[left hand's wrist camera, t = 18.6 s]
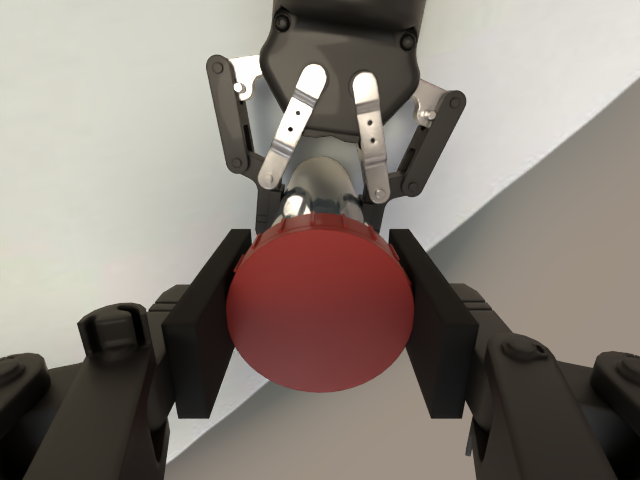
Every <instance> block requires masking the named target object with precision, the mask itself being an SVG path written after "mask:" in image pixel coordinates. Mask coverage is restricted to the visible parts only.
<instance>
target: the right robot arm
mask: <svg viewBox="0 0 640 480" xmlns="http://www.w3.org/2000/svg"><path fill="white" fill-rule="evenodd" d="M425 3H426V0H273V14H272V25H271V30H270V33H269V36H268V38H267V40H266V42H265V44H264V45H263V47H262V48H261V51H260V54H259V55H254V56H247V57H240V58H232V59H227V58H225V57H223V56H221V55H213V56H211V57H210V58H209V59H208V61H207V64H206V70H207V74H208V79H209V84H210V89H211V93H212V98H213V103H214V108H215V112H216V117H217V122H218V127H219V131H220V136H221V141H222V146H223V150H224V155H225V160H226V165H227V167H228V169H229V170H230V171H231V172H233V173H235V174H242V175H244V176H246V177H248V178H250V179H251V180H253V181H254V182H255V184H256V185H257V188H258V199H257V214H256V227H255V230H256V233H257V235H258V234H259V233H261V234H263V233H264V232H265V231H266V230H268V229H269V228H270V226H271V223H272V221H273V219H274V216H275V214H276V212H277V209H278V207H279V205H280V202H281V200H282V198H283V195H284V189H285V185H284V184H282V176H283V174H284V172H285V170H286V167H287V165H288V163H289V161H290V159H291V157H292V155H293V153H294V151H295V149H296V146H297V144H298V142H299V140H300V138H301V136H302V134H303V136H307V137H314V138H319V137H326V136H333V137H335V138H338V139H340V140H342V141H345V142H351V143H356V144H357V150H358V155H359V159H360V164H361V170H362V176H363V182H364V190H363V195H359V197H358V199H359V202H360V204H361V206H362V209H363V211H364V213H365V216H366V218H367V220H368V223H369V225H371V226H372V227H373V230H374V231H375V232H376V233H377V234H379V232H380V227H381V223H382V218H383V213H384V208H385V206H386V204H387V203H388V202H389V201H390V200H391V199H394V198H397V197H402V196H408V197H416V196H418V195H419V194H420V193H421V192H422V190H423V188H424V186H425V184H426V182H427V180H428V178H429V176H430V174H431V173H432V171H433V169H434V167H435V165H436V163H437V161H438V159H439V157H440V155H441V153H442V151H443V149H444V147H445V145H446V143H447V141H448V139H449V137H450V135H451V133H452V131H453V129H454V127H455V126H456V124H457V122H458V120H459V118H460V116H461V114H462V112H463V110H464V108H465V106H466V97H465V95H464V94H463V93H462V92H461V91H457V90H455V91H446V90H444V89H442V88H439V87H437V86H435V85H433V84H431V83H429V82H426V81H424V80H422V79H420V71H419V67H418V64H417V58H416V48H417V42H418V37H419V32H420V27H421V22H422V17H423V13H424V8H425ZM261 76H264V78H265V80H266V82H267V84H268V85H269V87H270V89H271V91H272V93H273V95H274V96H275V98H276V100H277V102H278V104H279V106H280V108H281V109H282V111H283V113H284V116H283V118H282V121H281V123H280V125H279V127H278V130H277V132H276V134H275V136H274V139H273V141H272V144H271V147H270V149H269V152H268V154H267V156H266V158H264V157H262V156H260V155H258V154H256V153H255V152H254V146H253V140H252V135H251V129H250V124H249V118H248V113H247V107H246V102H245V101H247V100H250V99H251V98H252V97H253V96H254V93H255V83H256V81H257V79H258V78H260V77H261ZM409 98H412V100H413V101H414V104H415V109H414V112H413V119H414V121H415V123H416V124H418V127H417V129H416V132H415V134H414V136H413V138H412V140H411V142H410V144H409V146H408V148H407V151H406V153H405V155H404V157H403V159H402V161H401V163H400V165H399V167H398V169H397V172H394V173H389V174H388V172H387V165H386V160H387V155H386V148H385V141H384V133H383V125H384V124H385V123H386V122H387V121H388V120H389V119H390V118H391V117H392V116H393V115H394V114H395V113H396V112H397V111H398V110H399V109H400V108H401V107H402V106H403V105H404V104H405V103H406V102H407V101H408V100H409Z"/></svg>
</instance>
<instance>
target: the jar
mask: <svg viewBox="0 0 640 480" xmlns="http://www.w3.org/2000/svg"><path fill="white" fill-rule="evenodd" d="M311 211H315V213H328V214H336V215H341V214H342V213H343V214H345V216H346V217H348V218H351V219H354V220H357V221H359V222H361V223H363V224H365V225H366V226H369V223H368V220H367V218H366V216H365V213H364V211H363V209H362V206H361V204H360V202H359V199H358V197H357V195H356V192H355V190H354V188H353V185H352V183H351V181H350V178H349V176H348V174H347V172H346V170H345V169H344V168H343V166H342V165H341V164H339V163H338V162H337V161H335V160H333V159H331V158H328V157H313V158H309V159H307V160H305V161H303V162H302V163H301V164H300V165H299V166H297V168H296V169H295V170H294V172H293V174H292V176H291V179H290V181H289V183H288V186H287V188H286V190H285V193H284V195H283V198H282V200H281V202H280V205H279V207H278V209H277V212H276V214H275V216H274V219H273V221H272V223H271V226H270V228H271V227H272V226H274V225H276V224H277V223H280V222H281V220H282V218H285V219H289V218H292V217H295V216H299V215H304V214H311Z"/></svg>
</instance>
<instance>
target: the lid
mask: <svg viewBox="0 0 640 480" xmlns="http://www.w3.org/2000/svg"><path fill="white" fill-rule="evenodd" d="M398 260H400V259H399V257H398V255H397V254H396V252H395V250H394V248H393V246H392V245H391V244H389V245H388V244H387V243H386V241H385V240H384V239H383V238H382V237H381V236H380V235H379V234H377V233H376V232H375V231H374V230H373V227H372V226H371V225H369V226H366V225H365V224H363V223H361V222H359V221H357V220H354V219H351V218H348V217H346V216H345V214H343V213H342V214H341V215H336V214H328V213H315V211H311V214H304V215H299V216H295V217H292V218H289V219H285V218H282V220H281V222H280V223H277V224H276V225H274V226H272V227H271V228H269V229H268V230H266V231H265V232H264V233H263V234H261V233H259V234H258V235H257V237H256V239H255V241H254V243H253V244H252V245H251V247H250V248H249V250H248V251H247V253H246V254H245V255H243V254H242V256H241V258H240V260H239V262H238V264H237V266H236V268H235V269H234V272H236V274H235V276H234V278H233V280H232V282H231V284H230V287H229V291H228V294H227V299H226V316H227V325H228V331H229V334H230V337H231V339H232V341H233V343H234V345H235V347H236V349H237V350H238V352H239V353H240V355H241V356H242V358H243V359H244V360H245V361H246V362H247V363H248V364H249V365H250V366H251V367H252V368H253V369H254V370H256V371H257V372H258V373H259V374H261V375H262V376H264V377H265V378H267V379H269V380H271V381H273V382H275V383H277V384H279V385H282V386H284V387H287V388H291V389H295V390H299V391H305V392H317V393H322V392H335V391H341V390H346V389H349V388H353V387H356V386H358V385H361V384H364V383H366V382H368V381H369V380H372V379H373V378H375V377H376V376H378V375H379V374H381V373H382V372H383V371H385V370H386V369H387V368H388V367H389V366H391V365H392V363H393V362H394V361H395V360H396V359H397V358H398V357H399V355H400V354H401V352H402V351H403V350H404V348H405V346H406V344H407V342H408V340H409V338H410V335H411V332H412V327H413V319H414V309H415V304H414V297H413V293H412V289H411V286H412V284H411V281H410V279H409V278H408V276H407V274H406V272H405V270H404V268H403V267H401V265H400V263H399V261H398Z"/></svg>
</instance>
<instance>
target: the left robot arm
mask: <svg viewBox="0 0 640 480" xmlns="http://www.w3.org/2000/svg"><path fill="white" fill-rule="evenodd" d="M389 244H391V245H392V246H393V248H394V250H395V252H396V254H397V255H398V257H399V259H400V260H398V261H399V263H400V265H401V267H403V268H404V270H405V272H406V274H407V276H408V278H409V279H410V281H411V284H412V286H411V289H412V293H413V297H414V304H415V309H414V319H413V327H412V332H411V335H410V338H409V340H408V342H407V344H406V346H405V347H406V350H407V353H408V355H409V358H410V361H411V363H412V366H413V369H414V372H415V375H416V377H417V380H418V383H419V386H420V389H421V391H422V394H423V397H424V400H425V403H426V405H427V408H428V411H429V414H430V416H431V418H432V419H450V418H451V419H461V418H462V415H463V410H464V404H465V400H466V402H467V404H468V406H469V408H470V410H471V412H472V414H473V417H472V422H471V427H470V432H469V437H468V442H467V447H466V454H465V455H466V456H471V451H472V450H473V457H474V464H475V472H476V479H477V480H640V356H637V355H635V356H634V355H633V354H629V353H622V352H614V351H611V352H603V353H601V354H600V355H598V356H597V358H596V361H595V364H594V367H593V368H590V367H585V366H580V365H575V364H570V363H565V362H561V361H557V360H556V359H555V357H554V355H553V354H552V353H551V352H550V350H549V349H548V348H547V347H545V346H544V345H542V344H541V343H540V342H538V341H536V340H534V339H531V338H529V337H527V336H524V335H520V334H515V333H513V332H512V331H511V330H510V329H509V328H508V327H507V325H506V324H505V323H504V322H503V321H502V320H501V319H500V317H499V316H498V315H497V314H496V313H495V312H494V311H493V310H492V308H491V307H490V306H489V305H488V303H485V300H484V299H483V298H482V296H481V295H480V294H479V293H478V292H477V291H476V290H474V289H472V288H471V287H469V286H467V285H465V284H449V283H448V282H447V280H446V279H445V277H444V276H443V275H442V273H441V272H440V271H439V269H438V268H437V267H436V265H435V264H434V263H433V261H432V260H431V259H430V257H429V256H428V255H427V253H426V252H425V250H424V249H423V248H422V246H421V245H420V244H419V242H418V241H417V240H416V238H415V237H414V236H413V234H412V233H411V232H410V230H409V229H390V230H389V243H388V245H389ZM251 245H252V240H251V229H231V231H230V232H229V233H228V235H227V236H226V237H225V239H224V240H223V241H222V243H221V244H220V245H219V247H218V248H217V249H216V251H215V252H214V253H213V255H212V256H211V258H210V259H209V260H208V262H207V263H206V264H205V266H204V267H203V268H202V270H201V271H200V272H199V274H198V275H197V276H196V278H195V279H194V281H193V282H192V283H191V285H175V286H174V287H172V288H170V289H169V290H167V291H165V292H164V293H163V294H162V295H161V296H160V297H159V298H158V299H157V301H156V302H155V304H153V305H152V306H151V308H150V309H149V311H148V312H146V308H144V307H143V306H142V305H140V304H135V303H118V304H113V305H109V306H105V307H103V308H100V309H97V310H94V311H93V312H91V313H89V314H88V315H86V316H84V317H83V318H82V319H81V320H80V321H79V322H78V323H77V325H78V329H79V332H80V336H81V339H82V343H83V346H84V350H85V353H86V358H85V359H84V361H83V362H82V363H78V364H73V365H68V366H63V367H58V368H53V369H47V366H46V363H45V360H44V358H43V357H42V356H40V355H39V354H34V353H23V354H15V355H10V356H7V357H3V358H0V480H164V473H165V465H166V458H167V450H168V443H169V435H170V429H169V422H168V415H169V413H170V411H171V409H172V406H173V404H174V402H175V403H176V408H177V414H178V419H209V417H210V414H211V412H212V409H213V406H214V403H215V400H216V398H217V395H218V392H219V389H220V387H221V384H222V381H223V378H224V375H225V373H226V370H227V367H228V364H229V361H230V359H231V356H232V353H233V350H234V348H235V345H234V343H233V341H232V339H231V337H230V334H229V331H228V325H227V316H226V299H227V294H228V291H229V287H230V284H231V282H232V280H233V278H234V276H235V274H236V272H234V269H235V268H236V266H237V264H238V262H239V260H240V258H241V256H242V254H243V255H245V254H246V253H247V251H248V250H249V248H250V247H251Z"/></svg>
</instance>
